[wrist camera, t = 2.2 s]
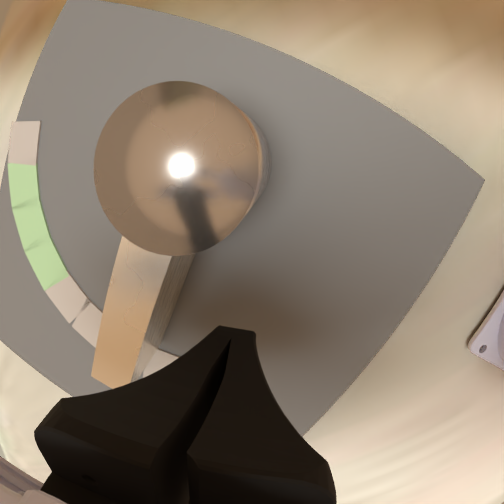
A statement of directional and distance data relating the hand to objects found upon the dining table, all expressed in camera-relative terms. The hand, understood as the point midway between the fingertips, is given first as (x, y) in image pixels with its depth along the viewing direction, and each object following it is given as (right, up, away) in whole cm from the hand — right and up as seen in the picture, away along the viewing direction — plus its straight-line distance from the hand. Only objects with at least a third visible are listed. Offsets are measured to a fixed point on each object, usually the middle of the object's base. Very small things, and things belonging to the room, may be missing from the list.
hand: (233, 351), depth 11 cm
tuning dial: (-3, +3, +2) cm, 5 cm away
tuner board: (-4, +2, +4) cm, 6 cm away
